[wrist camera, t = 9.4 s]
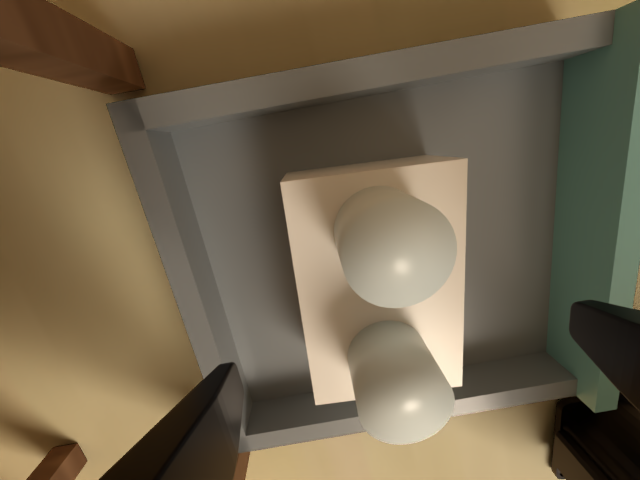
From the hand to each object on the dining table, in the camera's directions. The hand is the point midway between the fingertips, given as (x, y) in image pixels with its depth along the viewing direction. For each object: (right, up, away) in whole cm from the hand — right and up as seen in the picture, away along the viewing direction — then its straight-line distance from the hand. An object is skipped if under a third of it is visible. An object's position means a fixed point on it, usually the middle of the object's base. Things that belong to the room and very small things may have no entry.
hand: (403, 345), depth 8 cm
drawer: (+1, +2, +7) cm, 8 cm away
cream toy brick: (0, +2, +6) cm, 7 cm away
